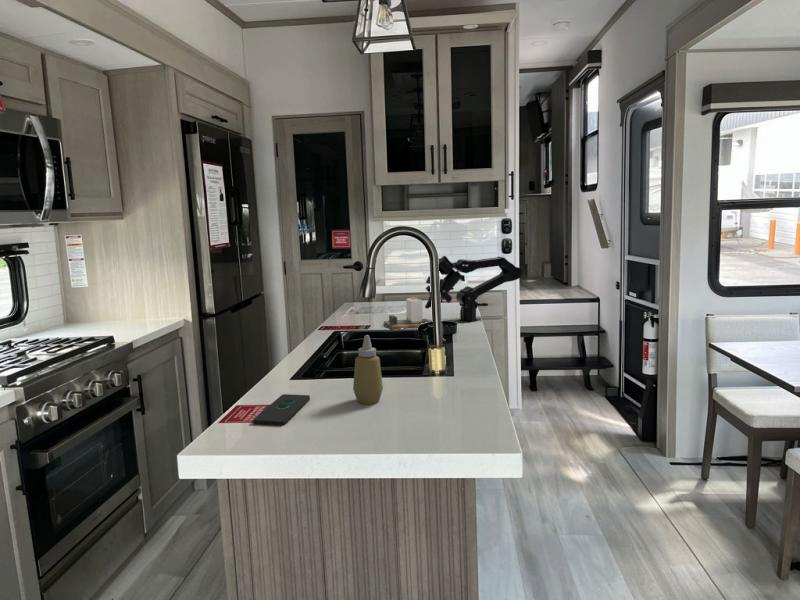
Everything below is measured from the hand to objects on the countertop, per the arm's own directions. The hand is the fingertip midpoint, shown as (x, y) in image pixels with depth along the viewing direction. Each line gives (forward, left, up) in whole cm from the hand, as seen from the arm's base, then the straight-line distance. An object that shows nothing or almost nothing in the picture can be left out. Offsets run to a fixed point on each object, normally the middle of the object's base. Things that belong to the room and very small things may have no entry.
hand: (425, 307), depth 257 cm
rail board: (+4, +7, -7) cm, 11 cm away
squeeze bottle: (-55, +90, -7) cm, 106 cm away
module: (+3, +5, -6) cm, 8 cm away
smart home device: (-44, +110, -8) cm, 118 cm away
